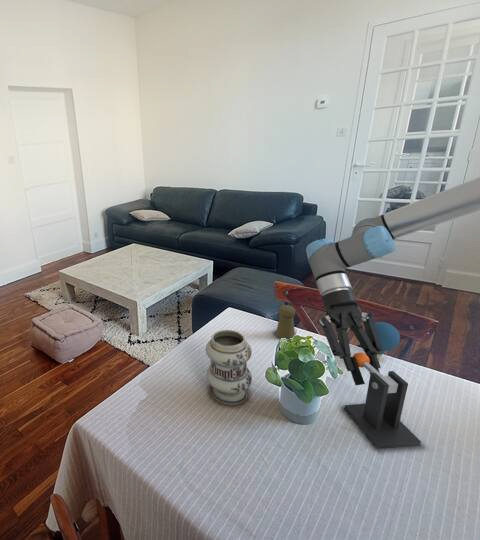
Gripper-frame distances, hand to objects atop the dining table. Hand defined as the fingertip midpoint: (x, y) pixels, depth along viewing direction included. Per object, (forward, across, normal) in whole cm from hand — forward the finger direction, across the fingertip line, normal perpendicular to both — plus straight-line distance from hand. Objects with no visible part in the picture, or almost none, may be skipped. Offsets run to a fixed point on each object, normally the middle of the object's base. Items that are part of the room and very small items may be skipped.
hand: (369, 383), depth 81 cm
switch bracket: (+9, 0, -2) cm, 10 cm away
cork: (-20, +4, -31) cm, 37 cm away
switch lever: (-1, 0, +2) cm, 2 cm away
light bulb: (-8, -16, -19) cm, 26 cm away
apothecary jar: (-1, +31, -13) cm, 33 cm away
